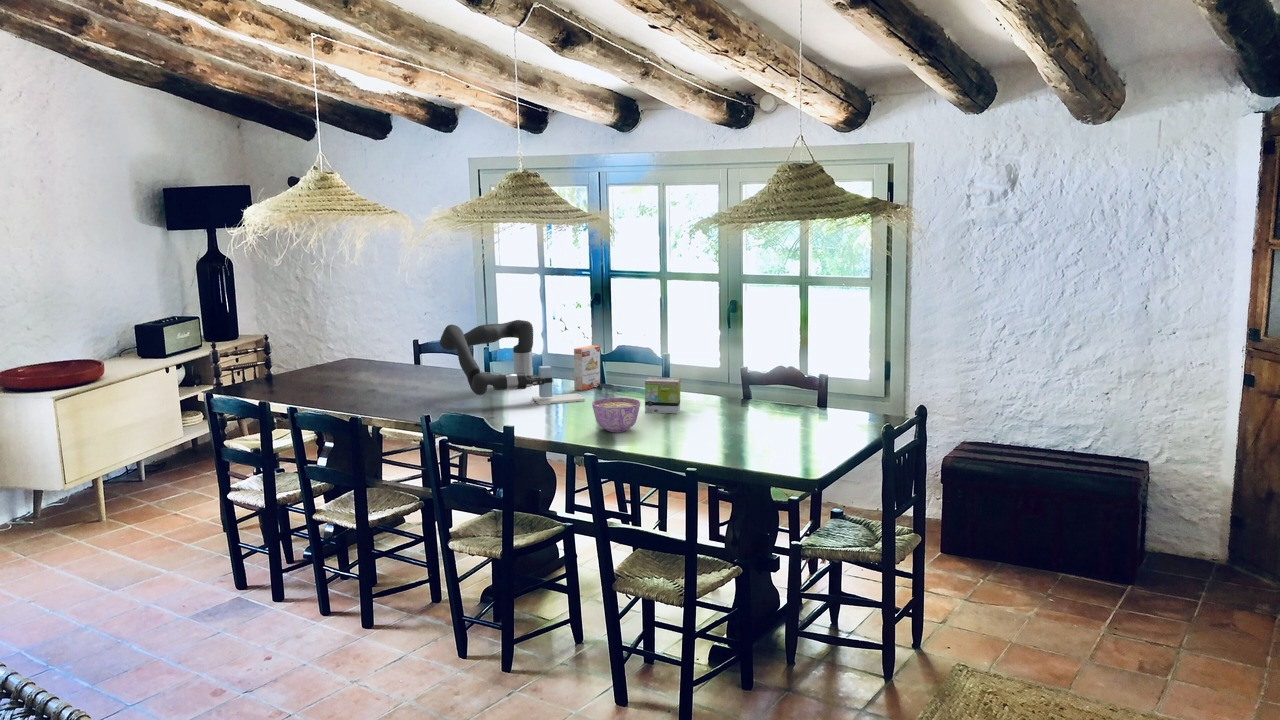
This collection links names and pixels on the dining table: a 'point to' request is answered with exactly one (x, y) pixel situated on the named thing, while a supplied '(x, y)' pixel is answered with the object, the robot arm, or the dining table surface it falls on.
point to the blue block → (547, 387)
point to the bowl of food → (616, 413)
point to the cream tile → (559, 399)
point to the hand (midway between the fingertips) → (550, 379)
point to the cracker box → (586, 367)
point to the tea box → (662, 395)
